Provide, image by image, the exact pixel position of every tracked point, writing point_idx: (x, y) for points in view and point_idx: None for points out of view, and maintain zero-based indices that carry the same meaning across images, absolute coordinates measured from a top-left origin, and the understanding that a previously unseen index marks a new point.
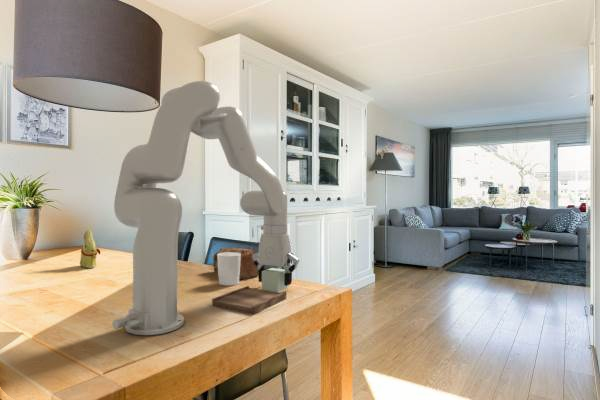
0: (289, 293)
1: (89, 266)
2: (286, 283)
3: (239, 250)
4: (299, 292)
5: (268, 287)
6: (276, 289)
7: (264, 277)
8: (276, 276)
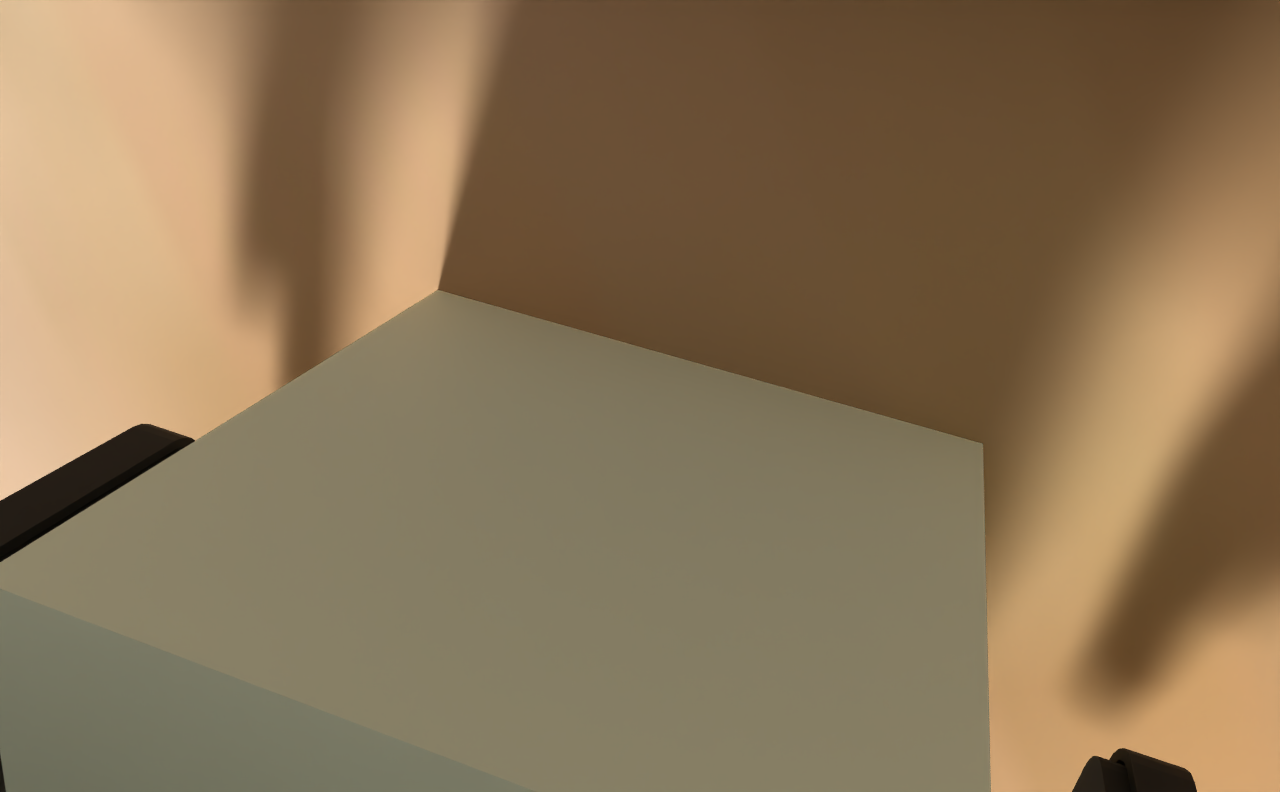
0: (144, 252)
1: None
2: (105, 468)
3: None
4: (20, 393)
5: (714, 415)
6: (444, 325)
7: (831, 651)
8: (171, 513)
